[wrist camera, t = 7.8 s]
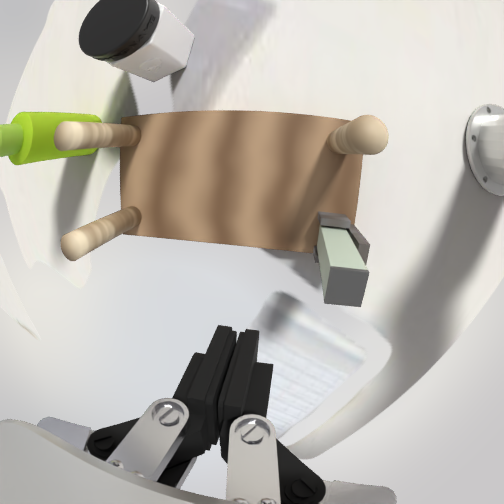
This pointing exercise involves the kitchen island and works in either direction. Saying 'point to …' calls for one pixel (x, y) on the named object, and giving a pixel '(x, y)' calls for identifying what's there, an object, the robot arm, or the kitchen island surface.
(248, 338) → the robot arm
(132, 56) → the jar
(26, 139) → the soap dispenser
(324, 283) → the hinged leg
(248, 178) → the stool seat
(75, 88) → the kitchen island surface
